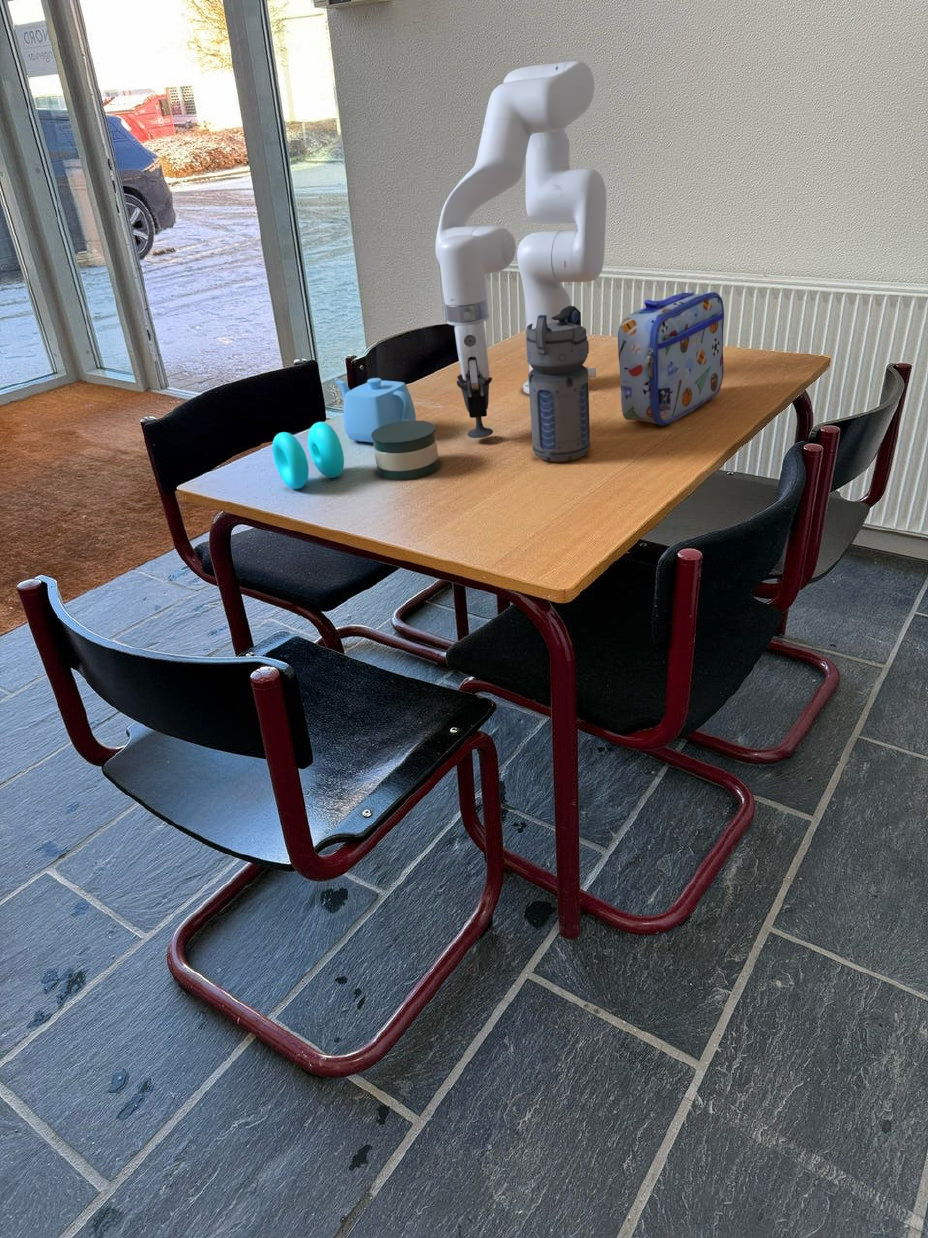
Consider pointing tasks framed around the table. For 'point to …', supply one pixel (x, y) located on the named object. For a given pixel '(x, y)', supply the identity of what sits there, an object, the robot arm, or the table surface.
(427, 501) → the table surface
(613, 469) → the table surface
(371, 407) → the teapot
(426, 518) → the table surface
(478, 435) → the sundae
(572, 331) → the beverage bottle
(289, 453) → the donuts
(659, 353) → the lunch box
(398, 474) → the tin
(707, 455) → the table surface
